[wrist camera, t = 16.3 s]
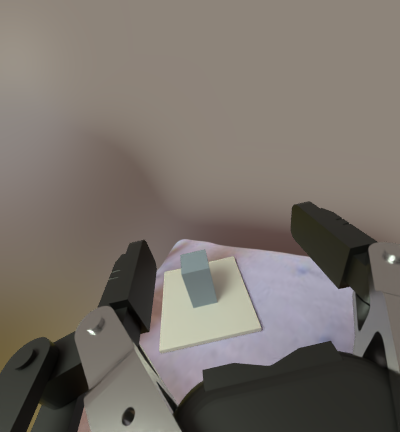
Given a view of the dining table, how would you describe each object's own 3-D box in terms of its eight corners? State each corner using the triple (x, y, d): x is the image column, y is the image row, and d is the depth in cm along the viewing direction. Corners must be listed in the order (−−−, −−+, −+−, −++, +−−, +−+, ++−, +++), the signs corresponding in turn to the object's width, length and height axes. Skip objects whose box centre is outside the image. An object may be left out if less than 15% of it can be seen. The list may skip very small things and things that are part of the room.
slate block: (213, 282, 42) (205, 249, 37) (217, 302, 38) (209, 267, 32) (191, 287, 42) (180, 255, 37) (193, 308, 38) (181, 274, 32)
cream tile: (233, 259, 48) (233, 256, 48) (261, 330, 33) (261, 327, 32) (165, 274, 48) (164, 272, 48) (161, 353, 33) (159, 351, 32)
